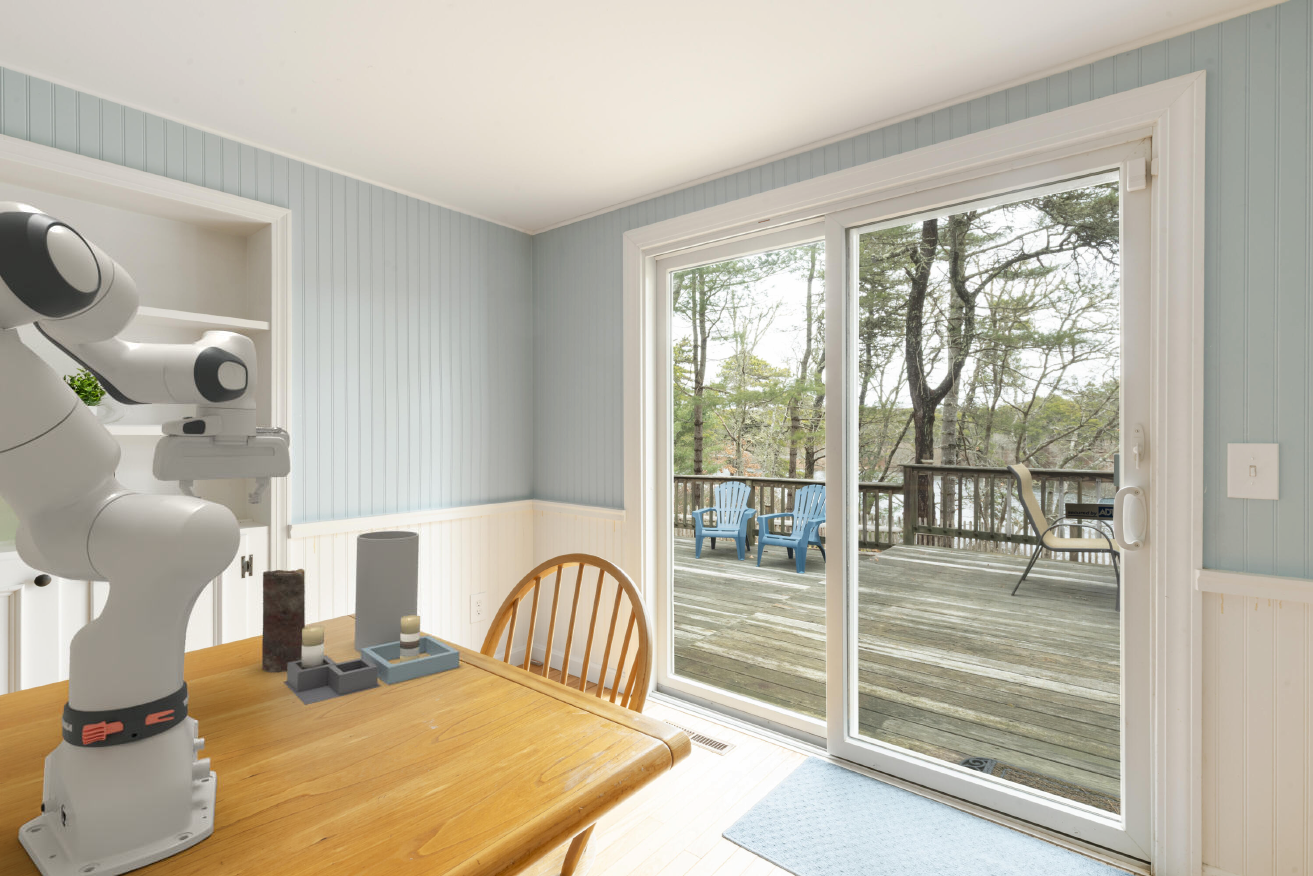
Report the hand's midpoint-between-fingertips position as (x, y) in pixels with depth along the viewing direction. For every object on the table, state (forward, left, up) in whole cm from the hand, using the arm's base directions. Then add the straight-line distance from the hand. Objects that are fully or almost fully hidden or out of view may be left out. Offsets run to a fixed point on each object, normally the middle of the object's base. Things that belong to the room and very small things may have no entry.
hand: (225, 505), depth 112 cm
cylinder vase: (+9, -32, -34) cm, 48 cm away
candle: (+9, -12, -34) cm, 37 cm away
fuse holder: (-7, -16, -34) cm, 38 cm away
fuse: (-4, -13, -33) cm, 36 cm away
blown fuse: (-7, -30, -34) cm, 46 cm away
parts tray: (-7, -30, -34) cm, 46 cm away
